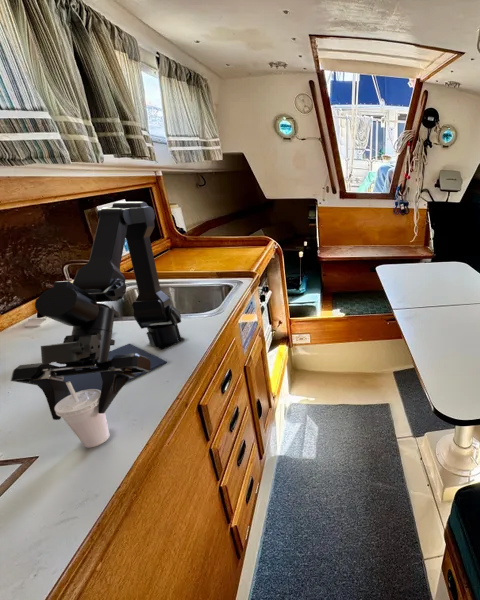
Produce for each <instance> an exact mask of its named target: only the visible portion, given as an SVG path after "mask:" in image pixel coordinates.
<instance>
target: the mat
mask: <svg viewBox="0 0 480 600" xmlns="http://www.w3.org/2000/svg"><path fill="white" fill-rule="evenodd" d="M132 353H137V354H140V355H142V356H144V357H147V358H148V359H149V360H150V362H151V366H150V371H149V372H151V371H153V370H155V369H157V368H159V367H162V366H164V365H166V364H168V362H167V360H165V359H162V358H161V357H158V356H156V355H154V354H153V353H150V352H148V351H146V350H145V349H142V348H139V347H138V346H136V345H133V344H131V343H126V344H125V345H122V346H119V347H117V348H115V349H112V350H110V351H109V358H108V359H110V360H112V358H113V357H114V356H115V355H122V354H132ZM93 368H98V367H93ZM76 370H81V369H76ZM105 372H107V371H105ZM147 373H148V372H142V373H134V375H135V377H134V378H130V379H129V380H128V381H127V382H126V383H128V382H131V381H133V380H134V379H136V378H139V377H140V376H143V375H145V374H147ZM63 381H64V382H69V381H70V382H71V384H72V387H73V389H74V391H75V393H76V392H79V391H83V390H88V389H97V390H100V391H101V389H102V384H103V382H102V378H101V374H100V372H97V373H88V374H79V375H71V376H64V380H63ZM69 395H71V393H70V391H69V394H68V396H69Z"/></svg>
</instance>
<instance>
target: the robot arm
mask: <svg viewBox="0 0 480 600" xmlns="http://www.w3.org/2000/svg"><path fill="white" fill-rule="evenodd" d="M96 217H97V220H98V222H97V226H96V230H95V234H94V239H93V242H92V247H91V251H90V256H89V258H88V259H89V260H88V262H87V263H85V264H84V265H82V266H81V267H80V268H78V270H77V272H76V274H75V276H74V278H73V281H72V282H71V281H69V280H63V281H62V280H61V281H54V283H53V287H50V288H48V289H46V290H45V291H43V292H42V293H41V294H40V295H39V296H38V298H36V299H35V302H34V307H35V310H36V312H37V313H38V314H39V315H41V316H43V317H46V318H49V319H51V320H53V321H55V322H58V323H61V324H62V325H63V324H64V325H65V326H69V327H72V330H71V334H70V335H65V337H64V338H63V342H61V343H54V344H53V343H52V344H46V345H45V344H44V345H40V354H41V362H38V363H37V362H35V363H28V364H27V363H26V364H20V365H18V366H17V367H15V368H14V369H13V370H12V373H11V376H10V382H16V383H19V384H21V383H22V384H29V385H34V386H37V387H38V388H40V389H41V391H42V392H43V394H44V397H45V398H46V401H47V404H48V407H49V411H50V414H51V418H52V420H54V421H60V420H61V418H62V417H60V416H58V415H57V414H56V412H55V409H54V408H55V406H56V404H57V403H58V402H59V401H61V400H62V399H64V398H65V397H67V396H68V394H69V389H68V387H67V384H66V382H64V381H63V380H64V376H71V375H79V374H88V373H97V372H100V374H101V378H102V382H103V384H102V389H101V395H100V400H99V411H98V412H99V413H100V414H102V413H105V414H106V411H107V410H108V408H110V405H111V404H112V403H113V402H114V399H115V398H116V396H117V395H118V394H119V392H120V391H121V390H122V388H123V387H124V386H125V385H126V384H127V383H128V382H129V381H128V380H129V379H130V378H134V377H135V375H134V373H142V372H147V373H149V372H151V371H150V366H151V362H150V360H149V359H148V358H147V357H144V356H142V355H140V354H137V353H132V354H122V355H115V356H114V357H113V358H112V360H110V359H108V358H109V352H110V351H111V346H115V343H116V340H115V339H112V338H113V337H112V335H113V328H114V321H115V319H118V318H120V316H121V315H120V312H118V311H117V310H116V309H115V307H114V306H113V305H107V304H105V302H106V303H109V302H118V301H119V300H123V298H124V296H125V295H126V293H127V284H126V277H125V275H124V274H123V272H122V271H121V265H122V264H121V263H122V257H123V253H124V248H125V241H126V243H127V249H128V253H129V257H130V262H131V265H132V269H133V270H132V271H133V275H134V279H135V283H136V288H137V292H138V294H137V297H136V298H135V300H134V301H133V302H132V304H131V306H132V310H133V318H134V321H136V323H137V324H138V326H139V327H140V329H141V330H142V329H147V332H146V335H147V338H148V344H149V345H150V346H152V347H154V348H156V349H159V350H161V351H162V350H165V349H167V348H170V347H173V346H174V345H176V344H179V343H180V342H184V341H185V337H183V336H182V335H181V332H180V330H179V326H178V324H180V323H182V315H181V311H180V310H179V309H177V308H176V307H175V306H174V305H172V301H171V298H170V297H169V296H168V295H167V294H166V293H164V291H163V290H162V289H161V284H160V279H159V276H158V271H157V265H156V260H155V257H154V252H153V246H152V242H151V235H152V233H153V231H154V229H155V226H156V224H155V219H156V213H155V210H154V208H153V207H152V206H149V205H148V204H147V202H145V201H115V202H113V203H112V205H111V206H105V207H102V208H99V209H98V210H97V213H96ZM97 302H101V303H102V304H101V303H97ZM51 363H56V364H57V365H54V364H51ZM58 365H61V366H58ZM93 367H98V368H93ZM76 369H81V370H76ZM105 371H107V372H105ZM127 381H128V382H127Z"/></svg>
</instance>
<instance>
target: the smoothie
mask: <svg viewBox="0 0 480 600" xmlns="http://www.w3.org/2000/svg"><path fill="white" fill-rule="evenodd" d="M66 384H67V387H68V389H69V391H70V393H71V395H69V396H67V397H65V398H64V399H62V400H61V401H59V402H58V403H57V404H56V406H55V408H54V409H55V412H56V414H57V415H58V416H60V417H61V418H62V420H63V421H64V422H65V424H67V426H68V427H69V428H70V430H71V431H72V432H73V433H74V435H75V436H76V437H77V438H78V440H79V441H80V443H82V445H83V446H84V447H85V448H87V449H88V448H95V447H98V446H100V445H102V444H103V443H105V442H107V440H109V438H110V435H111V434H110V429H109V425H108V421H107V416H106V412H105V413H102V414H100V413H99V412H98V411H99V400H100V395H101V391H100V390H97V389H88V390H83V391H79V392H76V393H75V391H74V389H73V387H72V384H71V382H70V381H69V382H66Z"/></svg>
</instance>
